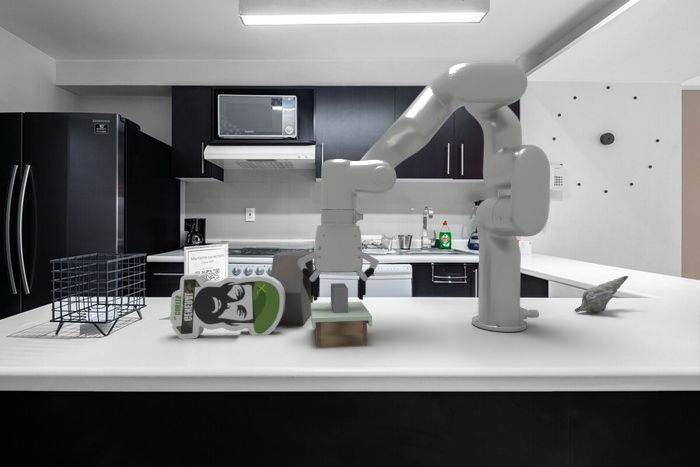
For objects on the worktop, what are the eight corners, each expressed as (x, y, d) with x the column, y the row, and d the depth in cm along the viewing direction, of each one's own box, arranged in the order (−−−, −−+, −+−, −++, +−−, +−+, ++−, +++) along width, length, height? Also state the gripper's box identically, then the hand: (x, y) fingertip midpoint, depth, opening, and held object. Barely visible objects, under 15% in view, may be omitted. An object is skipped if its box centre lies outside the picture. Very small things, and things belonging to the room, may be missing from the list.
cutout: (165, 276, 84) (281, 267, 84) (171, 275, 87) (283, 266, 87) (172, 345, 85) (286, 336, 85) (178, 341, 87) (288, 332, 88)
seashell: (564, 309, 112) (565, 274, 112) (623, 309, 112) (623, 274, 112) (584, 318, 102) (585, 280, 102) (649, 318, 102) (650, 280, 102)
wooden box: (358, 331, 90) (358, 306, 90) (366, 348, 78) (366, 319, 78) (314, 333, 89) (314, 307, 88) (317, 350, 77) (316, 320, 76)
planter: (297, 315, 86) (307, 235, 96) (263, 315, 86) (276, 235, 97) (309, 337, 100) (316, 266, 111) (280, 337, 101) (290, 265, 111)
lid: (361, 310, 91) (361, 280, 90) (372, 326, 77) (372, 291, 77) (310, 311, 89) (310, 281, 89) (312, 328, 76) (312, 292, 75)
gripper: (375, 219, 87) (374, 295, 88) (297, 218, 85) (297, 296, 86) (382, 219, 80) (381, 302, 80) (297, 218, 78) (297, 303, 78)
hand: (338, 298), depth 83 cm, fingers open, 9 cm apart
